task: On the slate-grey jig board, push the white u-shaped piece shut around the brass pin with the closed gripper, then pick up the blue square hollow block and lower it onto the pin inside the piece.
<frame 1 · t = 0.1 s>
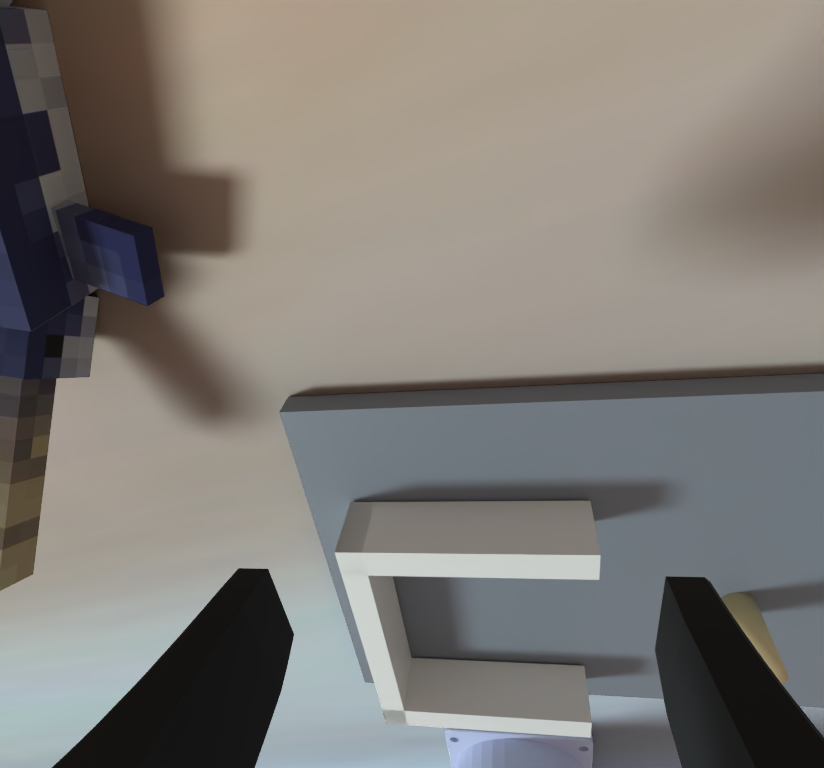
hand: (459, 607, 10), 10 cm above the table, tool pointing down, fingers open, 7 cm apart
toy: (40, 195, 18), on the table
white u-shaped piece: (476, 625, 23), point 2 cm above the table, slide at 0.0 cm
board: (659, 557, 23), on the table
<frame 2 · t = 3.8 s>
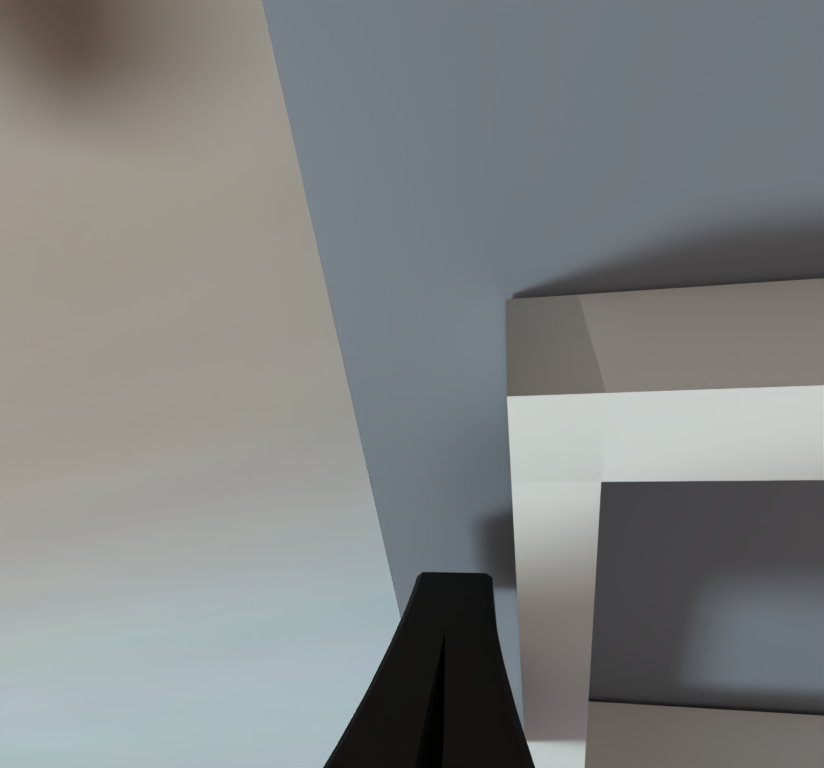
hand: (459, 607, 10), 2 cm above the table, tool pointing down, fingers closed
white u-shaped piece: (803, 637, 9), point 2 cm above the table, slide at 0.8 cm, touching gripper
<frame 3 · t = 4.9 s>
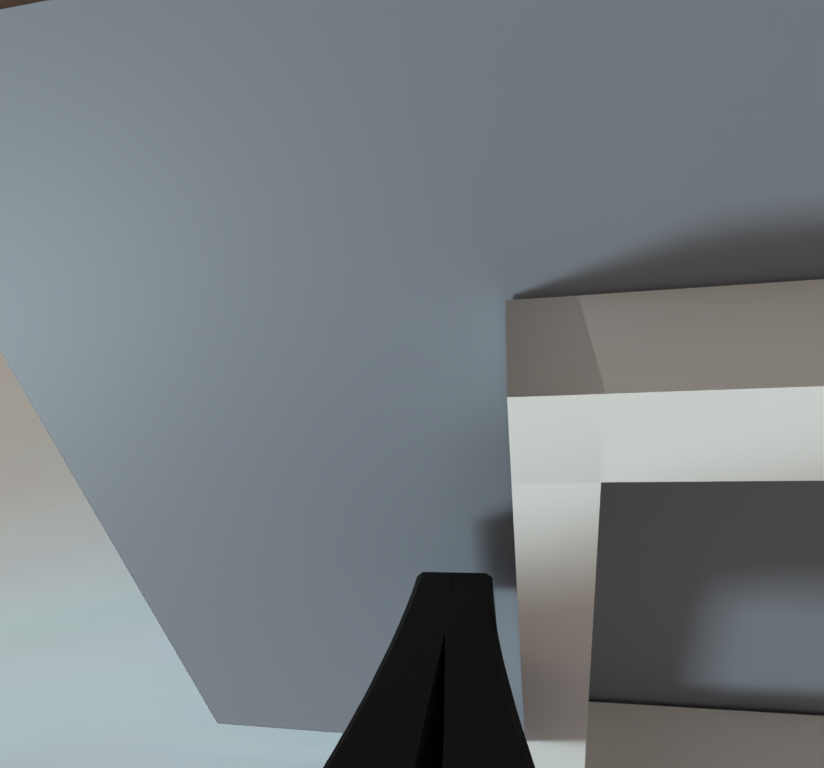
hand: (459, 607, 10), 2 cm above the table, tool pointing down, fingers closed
white u-shaped piece: (803, 637, 9), point 2 cm above the table, slide at 7.0 cm, touching gripper
board: (791, 470, 10), on the table
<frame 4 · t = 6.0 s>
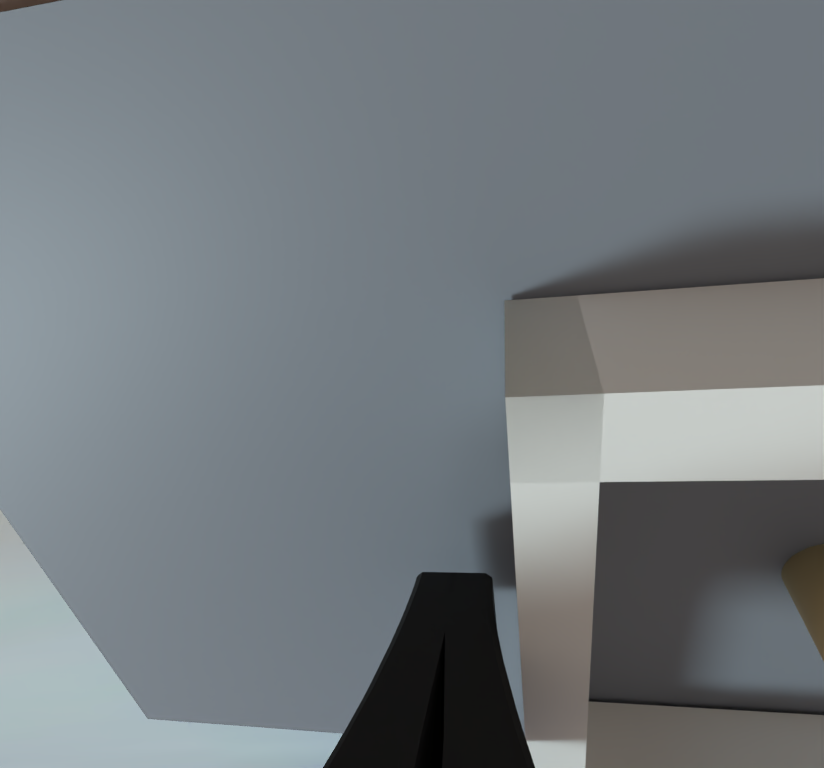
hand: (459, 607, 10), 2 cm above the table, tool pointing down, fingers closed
white u-shaped piece: (803, 636, 9), point 2 cm above the table, slide at 9.3 cm, touching gripper
board: (656, 471, 11), on the table
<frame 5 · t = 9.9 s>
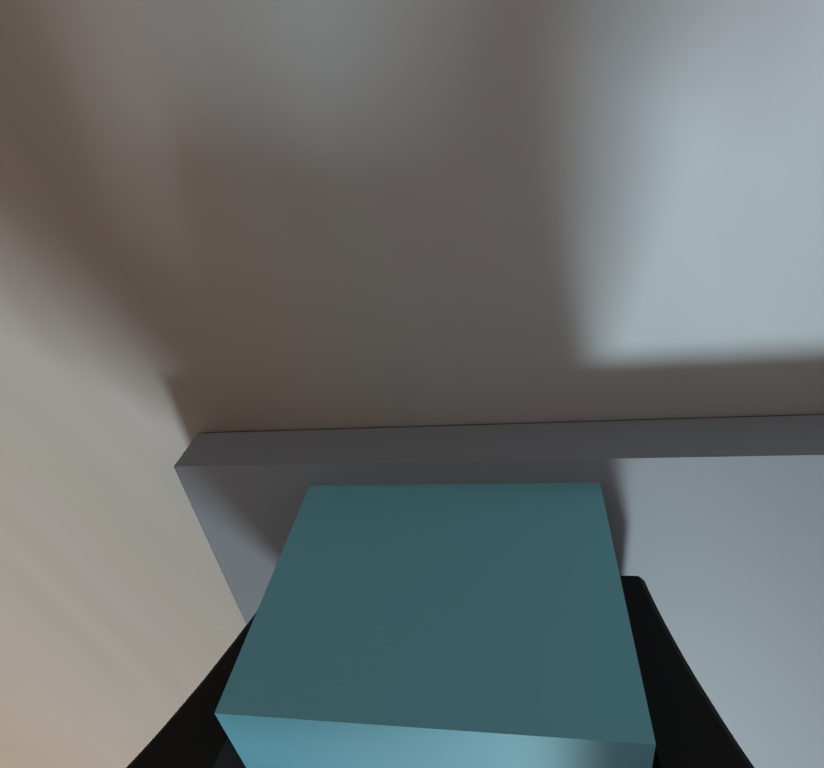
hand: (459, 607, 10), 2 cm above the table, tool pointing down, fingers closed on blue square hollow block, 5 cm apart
blue square hollow block: (460, 580, 11), point 1 cm above the table, touching board, gripper
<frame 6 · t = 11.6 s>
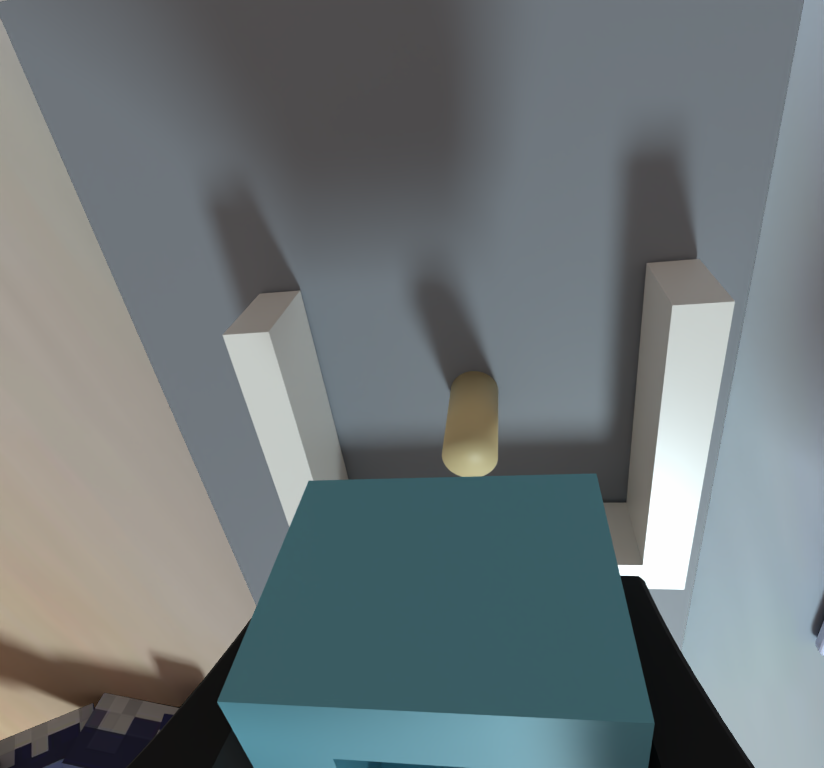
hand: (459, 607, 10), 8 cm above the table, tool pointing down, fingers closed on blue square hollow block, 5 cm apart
toy: (197, 722, 33), on the table
blue square hollow block: (459, 575, 11), point 8 cm above the table, touching gripper
white u-shaped piece: (475, 443, 16), point 2 cm above the table, slide at 9.3 cm
board: (437, 445, 19), on the table
when the fingers open (3 cm above the table, at t = 13.5 s): blue square hollow block stays where it is, resting on board.
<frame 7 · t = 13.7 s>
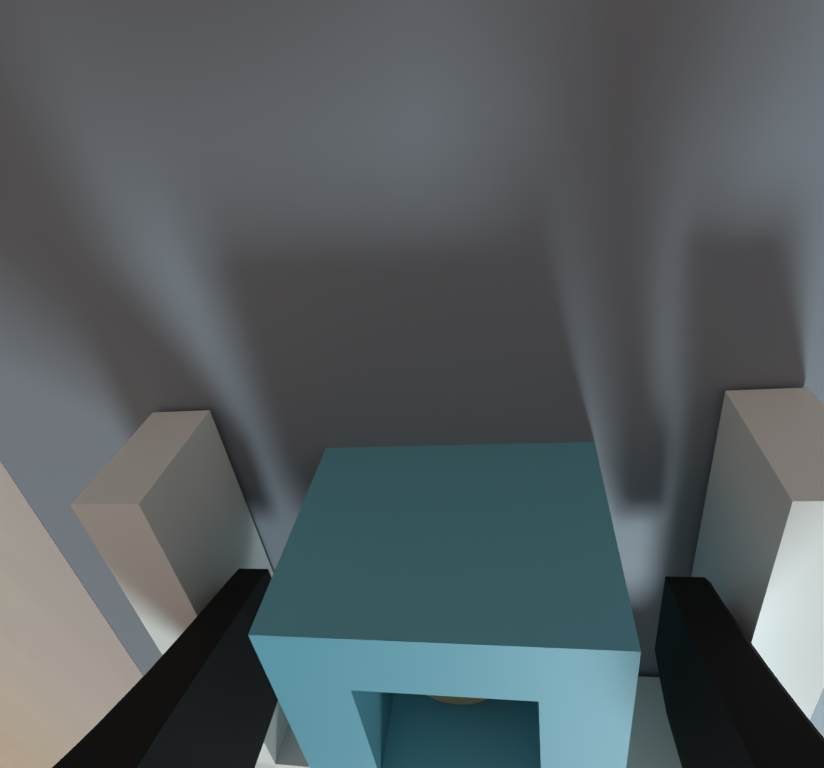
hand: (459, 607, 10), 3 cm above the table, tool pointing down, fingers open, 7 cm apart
blue square hollow block: (465, 539, 12), point 1 cm above the table, touching board
white u-shaped piece: (464, 625, 11), point 2 cm above the table, slide at 9.3 cm
board: (416, 586, 14), on the table
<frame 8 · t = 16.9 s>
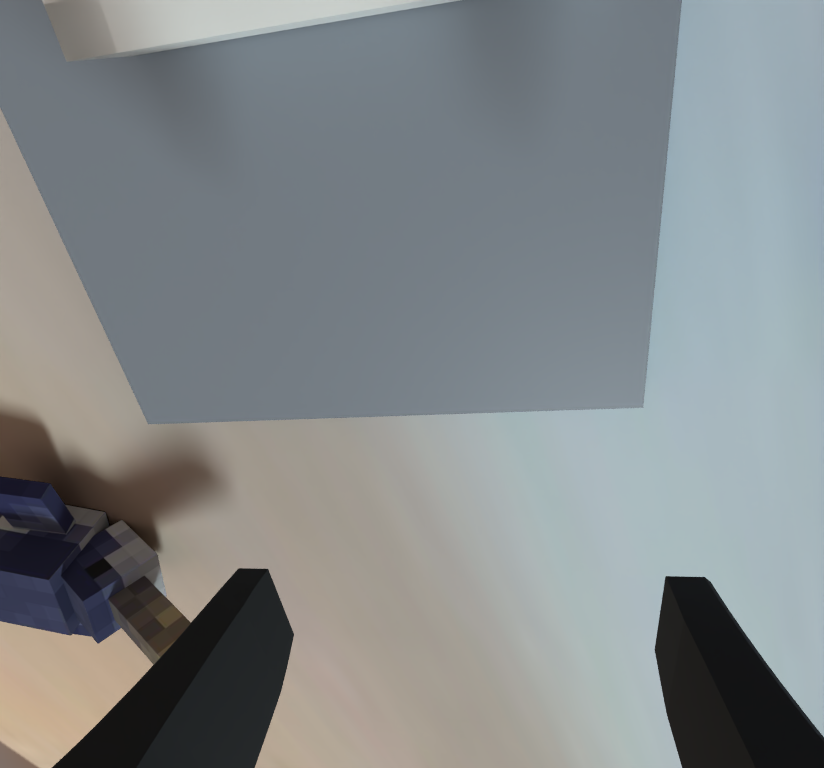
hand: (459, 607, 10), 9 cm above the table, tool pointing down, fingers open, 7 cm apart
toy: (61, 525, 26), on the table
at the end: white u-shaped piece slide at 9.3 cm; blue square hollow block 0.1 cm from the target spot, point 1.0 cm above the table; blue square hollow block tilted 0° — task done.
